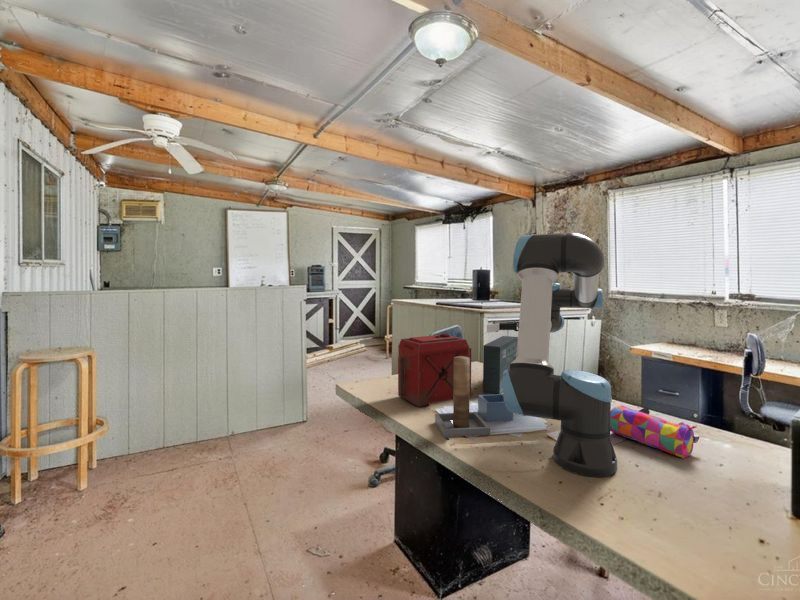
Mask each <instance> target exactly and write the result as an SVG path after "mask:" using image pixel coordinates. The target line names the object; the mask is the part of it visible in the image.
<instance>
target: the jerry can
mask: <svg viewBox="0 0 800 600" xmlns="http://www.w3.org/2000/svg"><path fill="white" fill-rule="evenodd" d="M397 350H398V353H397V356H398V357H397V361H398V362H397V369H398V370H397V384H398V385H397V390H398V391H397V395H398V397H400V398H403V400H406V401H408V402H409V403H411V404H413V405H414V406H416V407H419V408H421V407H426V406H427V407H428V406H430V404H434V403H435V404H436V403H439V402H444V401H449V400H453V377H454V357H457V356H464V357H469V358H470V393H469V395H471V394H472V347H470V345H469V343H468V340H467V339H466V338H462V337H457V336H452V335H451V334H450V333H439V334H436V335H435V334H434V335H424V336H412V337H408V338H401V339H400V341H399V343H398V349H397Z"/></svg>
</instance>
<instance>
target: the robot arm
mask: <svg viewBox="0 0 800 600" xmlns="http://www.w3.org/2000/svg"><path fill="white" fill-rule="evenodd" d="M604 267H605V255H604V252H603V249H601V247H600V246H599V245H598V244H597V243H596V242H595V241H594V240H593V239H591V238H590V237H588V236H586V235H584V234H581V233H577V232H564V233H563V232H562V233H560V232H558V233H540V234H539V233H532V234H526V235H525V234H524V235H521V236H520V237H519V238H518V239H517V241H516V243H515V247H514V251H513V260H512V268H513V272H514V273H516V274H517V278H518V279H519V280H520V281H522V282H521V295H520V296H521V297H520V306H519V307H520V309H519V320H518V321H515V320H514V321H502V322H501V321H500V322H499V321H497V322H492V323H490V324H487V325H486V333H488V334H489V333H498V332H500V331H515V332H517V337H518V343H517V356H516V359H515V360H514V361H513V362H511V363H510V370H505V371H504V372H503V381H502V383H503V392H502V394H503V397H504V402H505V406H506V408H507V410H508V411H509V412H511V413H513V415H514V414H516V415H520V416H522V417H526V416H527V417H534V418H539V419H541V418H542V419H548V420H556V421H560V430H559V433H558V435H557V437H556V438H557V439H556V440H555V443H554V446H553V449H552V460H553V462H554V463H555V464H557V465H558V467H561V468H562V469H565V470H567V471H569V472H571V473H575V474H577V475H581V476H586V477H587V476H588V477H595V478H597V477H598V478H599V477H602V478H603V477H610V476H612V475H614V474H615V473H617V471H618V458H617V454H616V452H615V449H614V445H613V442H612V439H611V431H610V418H611V410H612V409H611V408H612V406H611V405H612V402H613V398H612V385H611V383H610V382H609V381H608V380H607V379H606V378H604V377H602V376H600V375H597V374H594V373H592V372H588V371H583V370H577V369H564V370H562V372H561V374H560V375H559V374H558V375H557V374H555V368H554V367H553V366H552V365H551V363H550V362H549V359H550V358H549V356H550V339H551V333H552V334H553V333H556V332H559V331H560V330H563V328H564V326H565V319H564V316H563V315H562V314H561V309H563V308H564V309H565V308H566V309H569V308H570V309H589V310H593V309H601V308H603V302H604V301H603V300H604V290H603V289H602V288H599V281H600V273H601V272H602V270H603V269H604ZM559 273H573V288H571V287H562V285H561V283H559V282H558V283H557V282H556V281H557V280H559V275H560V274H559Z"/></svg>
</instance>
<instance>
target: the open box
mask: <svg viewBox="0 0 800 600" xmlns="http://www.w3.org/2000/svg"><path fill="white" fill-rule="evenodd" d="M477 397H478V399H477V400H478V401H477V407H478V408H477V413H479V416H480V417H481V418H482V419H483V420H484V421H486V422H500V421H501V422H502V421H504V422H505V421H514V413H511V412H509V411H508V410H507V408H506V406H505V402H504V397H503V393H501V394H478V396H477Z"/></svg>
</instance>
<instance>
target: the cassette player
mask: <svg viewBox="0 0 800 600" xmlns="http://www.w3.org/2000/svg"><path fill="white" fill-rule="evenodd" d="M517 343H518V336H511V335H510V336H509V335H502V336H500V337H498V338H496V339H494V340H491V341H489V342H487V343H486V344H484V345H483V347H482V348H483V352H482V354H483V355H482V356H483V358H482V361H483V363H482V366H483V367H482V393H483V394H488V393H489V394H488V395H490V394H503V383H502V381H503V372H504V371H505V370H510V363H511V362H513V361H514V360H515V359H516V356H517Z"/></svg>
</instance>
